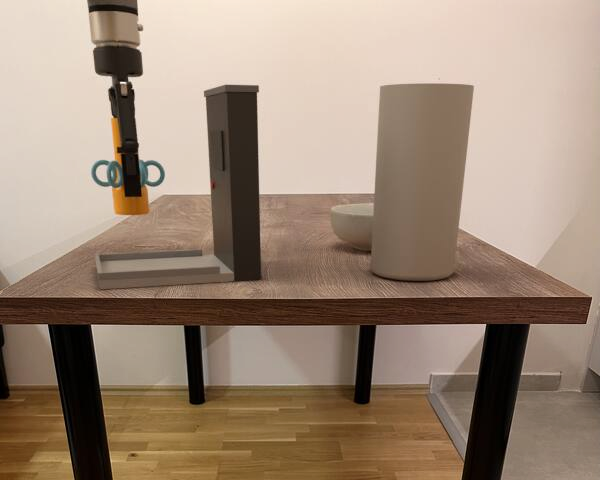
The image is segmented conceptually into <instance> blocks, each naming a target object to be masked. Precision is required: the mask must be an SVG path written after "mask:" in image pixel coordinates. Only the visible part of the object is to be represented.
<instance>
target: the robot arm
mask: <svg viewBox="0 0 600 480" xmlns="http://www.w3.org/2000/svg"><path fill="white" fill-rule="evenodd" d="M86 2H87V9H88V21H89V29H90V30H89V31H90V40H91V43H92V44H93V45H94V46H95V47H94V48H93V49H92V56H93V65H94V72H95V73H96V74H97V75H98V76H101V77H111V86H110V87H109V88H108V89H107V95H108V101H109V102H110V103H109V104H110V113H111V116H112V118H117V120H118V127H119V135H120V142H121V147H117V153H125V154H121V162H122V173H123V183H124V193H125V197H142V192H141V180H140V169H139V159H140V156H139V157H138V154H135V153H138V151H139V148H140V143H139V139H138V130H136V128H137V121H136V122H135V119H136V105H135V99H136V97H135V96H136V94H135V93H136V92H135V89H134V88H133V84H132V81H129V78H140V77H142V76H143V75H144V66H143V65H144V64H143V54H142V51H141V50H140V49H138V47H140V46H141V33H140V32H143V31H144V25H143V24H141V23H139V5H138V0H86Z"/></svg>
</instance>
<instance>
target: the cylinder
mask: <svg viewBox="0 0 600 480" xmlns="http://www.w3.org/2000/svg"><path fill="white" fill-rule="evenodd" d="M135 122H136V123H137V118H135ZM110 124H111V134H112V145H113V152H114V153H113V156H114V160H111V161H109V160H106V159H100V160H96V161H95V162H93V164H92V166H91V170H90V175H91V178H92V180H93V182H94V183H95V184H97V186H100V187H103V188H108V187H112V188H111V193H112V200H113V201H112V202H113V211H114V214H115V215H121V216H142V215H148V214H149V213H150V203H149V191H148V187H150V188H154V187H156V188H157V187H159V186H161V184H162V183H164V181H165V176H166V172H165V169H164V167H163V166H162V164H161V163H159V161H157V160H153V159H149V160H146V161H144V160H143V159H140V153H139V152H140V151H139V150H138V153H135V154H138V157H139V169H140V180H141V192H142V197H125V193H124V183H123V173H122V162H121V154H125V153H117V147H121V142H120V135H119V127H118V120H117V118H113V117H111V118H110ZM136 130H137V127H136ZM137 131H138V130H137ZM100 166H106V170H105V171H106V179H107V181H102V180H101V179H99V178H98V176H97V169H98V168H99V167H100ZM149 166H154V167H156V168H157V169H158V170H159V177H158V179H157V180H156V181H151V180H149V168H148V167H149ZM147 186H148V187H147Z"/></svg>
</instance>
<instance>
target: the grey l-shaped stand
mask: <svg viewBox="0 0 600 480" xmlns="http://www.w3.org/2000/svg"><path fill="white" fill-rule="evenodd" d="M258 93H260V86H259V85H257V84H222V85H219V86H216V87H211V88H208V89H206V90H204V91H203V97H204V98H205V107H206V108H205V110H206V127H207V130H206V131H207V147H208V167H209V184H210V185H209V186H210V203H211V220H212V221H211V223H212V224H211V225H212V241H213V254H203V249H202V248H197V249H195V248H193V249H177V250H176V249H175V250H155V251H153V250H152V251H134V252H133V251H132V252H131V251H130V252H112V253H111V252H110V253H95V254H94V259H95V265H96V266H95V267H96V273H97V279H98V286H99V290H114V289H130V288H132V289H133V288H145V287H146V288H148V287H161V286H163V287H165V286H177V285H178V286H180V285H195V284H210V283H225V282H226V283H228V282H243V281H261V280H262V257H261V254H262V252H261V249H262V248H261V213H260V212H261V210H260V209H261V208H260V206H261V205H260V165H259V159H260V158H259V120H258V119H259V117H258V116H259V115H258Z"/></svg>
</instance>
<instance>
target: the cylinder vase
mask: <svg viewBox="0 0 600 480" xmlns="http://www.w3.org/2000/svg"><path fill="white" fill-rule="evenodd" d="M474 91H475V85H473V84H466V83H465V84H464V83H439V82H438V83H437V82H436V83H435V82H434V83H431V82H429V83H427V82H426V83H398V84H397V83H396V84H384V85H380V86H379V96H378V97H379V99H378V100H379V101H378V118H377V119H378V120H377V135H376V136H377V139H376V141H377V142H376V154H375V155H376V156H375V176H374V195H373V203H374V212H373V231H372V250H371V251H370V253H371V254H370V270H371V272H372V273H373V274H375V275H376V276H379V277H380V278H381V277H382V278H385V279H391V280H395V281H405V282H431V281H437V280H439V281H440V280H444V279H447V278H449V277H450V276H452V275H453V273H454V272H455V264H456V255H457V248H458V247H457V246H458V238H459V227H460V219H461V210H462V202H463V201H462V200H463V192H464V183H465V171H466V164H467V156H468V155H467V154H468V146H469V137H470V135H469V134H470V129H471V128H470V126H471V120H472V119H471V117H472V109H473V100H474Z"/></svg>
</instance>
